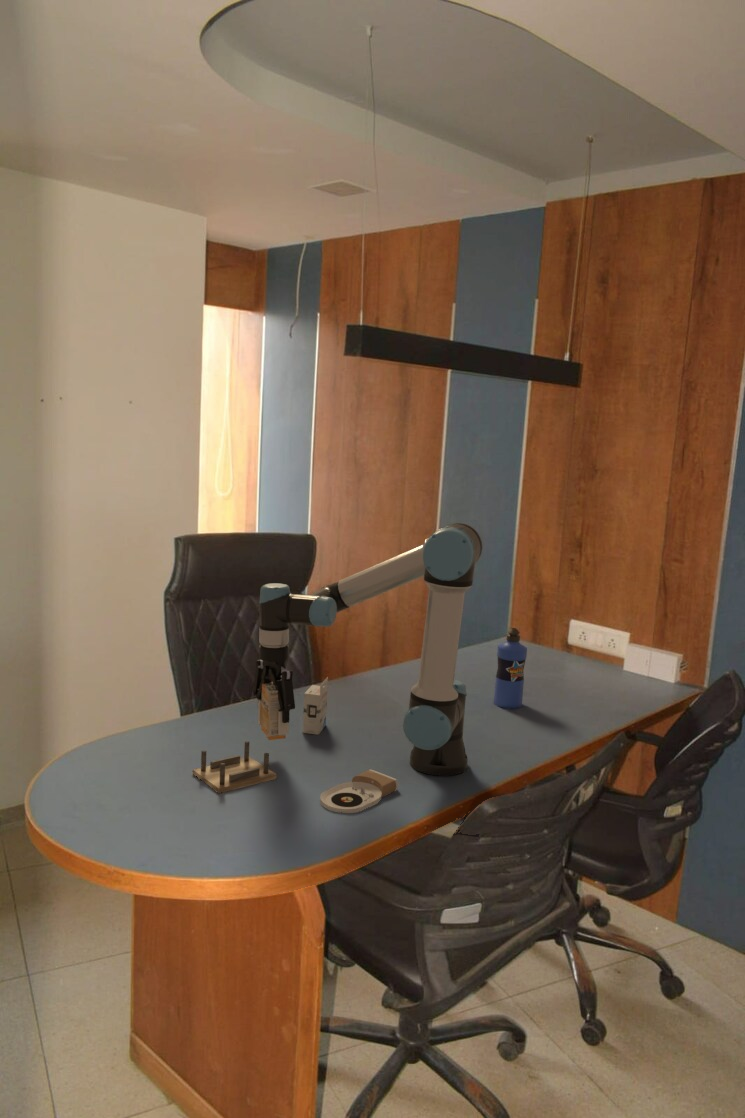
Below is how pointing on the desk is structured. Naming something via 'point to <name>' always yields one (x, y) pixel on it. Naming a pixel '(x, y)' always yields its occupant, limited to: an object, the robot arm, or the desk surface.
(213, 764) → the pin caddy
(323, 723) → the ink box
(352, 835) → the desk surface
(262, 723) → the supplement box
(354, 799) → the record player
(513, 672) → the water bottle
